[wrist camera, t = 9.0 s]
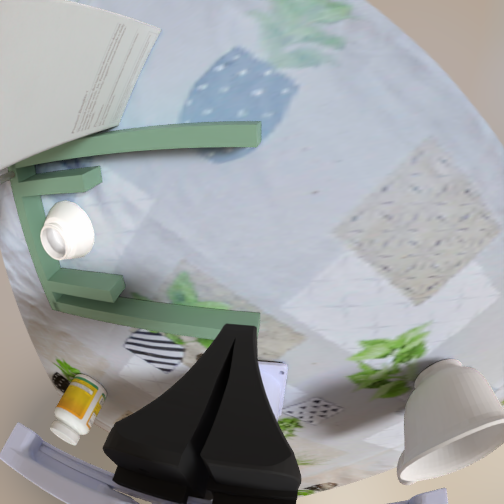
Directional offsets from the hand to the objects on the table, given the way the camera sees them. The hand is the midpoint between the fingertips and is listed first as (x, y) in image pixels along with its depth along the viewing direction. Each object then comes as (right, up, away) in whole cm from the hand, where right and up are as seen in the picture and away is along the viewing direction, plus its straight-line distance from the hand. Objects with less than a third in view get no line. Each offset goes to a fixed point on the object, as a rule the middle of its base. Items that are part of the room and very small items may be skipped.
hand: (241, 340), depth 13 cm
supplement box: (-10, +17, +2) cm, 19 cm away
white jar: (-14, +6, +9) cm, 18 cm away
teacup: (+20, -10, +13) cm, 26 cm away
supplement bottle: (-22, -15, +22) cm, 34 cm away
